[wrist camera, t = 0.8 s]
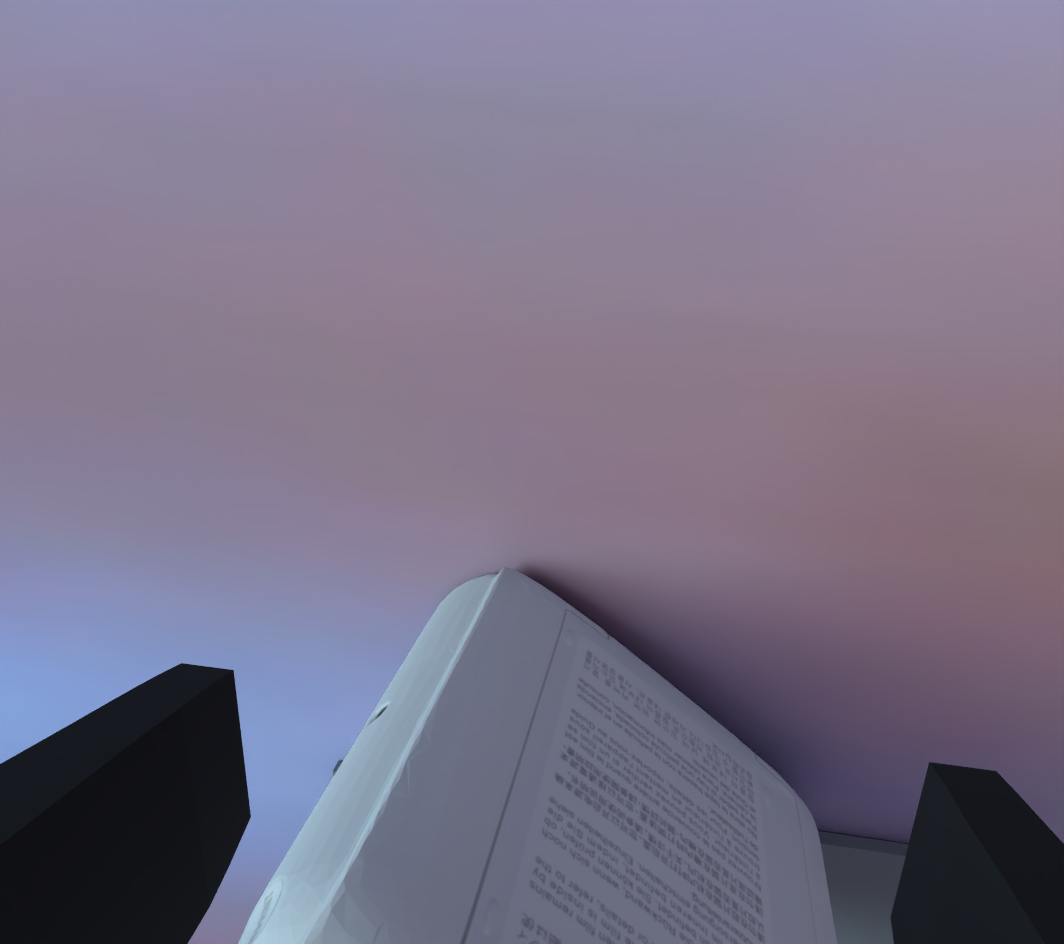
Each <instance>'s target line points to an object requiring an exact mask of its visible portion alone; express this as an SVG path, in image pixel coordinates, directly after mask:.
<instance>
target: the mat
mask: <svg viewBox="0 0 1064 944" xmlns="http://www.w3.org/2000/svg"><path fill="white" fill-rule="evenodd" d="M342 762H343V761H338V763H337V765H336V767H335V768H334V770H333V776H334V775H335V773H336V772H337V770H338V768H339V767H340V765H341V763H342ZM818 834H819V838H820V844H821V849H822V854H823V861H824V868H825V873H826V880H827V886H828V891H829V898H830V904H831V910H832V916H833V923H834V927H835V934H836V940H837V944H894V941H893V933H892V926H891V918H890V917H891V913H892V909H893V905H894V901H895V897H896V893H897V889H898V885H899V881H900V877H901V873H902V869H903V865H904V861H905V857H906V853H907V849H908V845H909V844H903V843H897V842H890V841H883V840H876V839H869V838H863V837H856V836H849V835H842V834H835V833H829V832H822V831H818Z"/></svg>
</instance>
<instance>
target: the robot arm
mask: <svg viewBox="0 0 1064 944" xmlns="http://www.w3.org/2000/svg"><path fill="white" fill-rule="evenodd" d="M250 817H251V815H250V806H249V798H248V789H247V781H246V772H245V764H244V755H243V747H242V739H241V730H240V722H239V713H238V705H237V696H236V688H235V679H234V671H233V670H228V669H220V668H213V667H205V666H198V665H190V664H183V663H181V664H179V665H177V666H175V667H173V668H171V669H169V670H167V671H165V672H163V673H161V674H159V675H157V676H155V677H154V678H152V679H150V680H148V681H146V682H144V683H143V684H141V685H139V686H137V687H135V688H133V689H132V690H130V691H128V692H126V693H125V694H123V695H121V696H119V697H117V698H116V699H114V700H112V701H110V702H109V703H107V704H105V705H103V706H102V707H100V708H98V709H96V710H95V711H93V712H91V713H89V714H88V715H86V716H84V717H83V718H81V719H79V720H77V721H76V722H74V723H72V724H70V725H69V726H67V727H65V728H63V729H62V730H60V731H58V732H56V733H54V734H53V735H51V736H49V737H47V738H46V739H44V740H42V741H40V742H39V743H37V744H35V745H33V746H31V747H30V748H28V749H26V750H24V751H23V752H21V753H19V754H17V755H16V756H14V757H12V758H10V759H8V760H7V761H5V762H3V763H1V764H0V944H187V943H188V942H189V940H190V938H191V937H192V935H193V934H194V932H195V930H196V929H197V927H198V925H199V924H200V922H201V920H202V918H203V917H204V915H205V913H206V912H207V910H208V908H209V907H210V905H211V903H212V901H213V898H214V896H215V894H216V892H217V890H218V888H219V886H220V884H221V882H222V880H223V878H224V875H225V873H226V871H227V869H228V867H229V865H230V863H231V860H232V858H233V856H234V854H235V851H236V849H237V847H238V845H239V842H240V840H241V838H242V836H243V833H244V831H245V829H246V826H247V824H248V822H249V820H250ZM890 918H891V926H892V933H893V941H894V944H1064V844H1063V843H1062V842H1061V841H1060V840H1059V838H1058V837H1057V836H1056V835H1055V834H1054V833H1053V832H1052V831H1051V830H1050V829H1049V828H1048V826H1047V825H1046V824H1045V823H1044V822H1043V821H1042V820H1041V819H1040V818H1039V817H1038V815H1037V814H1036V813H1035V812H1034V811H1033V810H1032V809H1031V808H1030V807H1029V806H1028V804H1027V803H1026V802H1025V801H1024V800H1023V799H1022V798H1021V797H1020V796H1019V795H1018V794H1017V793H1016V791H1015V790H1014V789H1013V788H1012V787H1011V786H1010V785H1009V784H1008V783H1007V782H1006V781H1005V780H1004V779H1003V778H1002V777H1001V776H1000V775H999V774H998V773H997V772H996V771H991V770H984V769H976V768H968V767H961V766H953V765H946V764H938V763H931V762H929V765H928V769H927V773H926V777H925V781H924V785H923V789H922V793H921V797H920V801H919V805H918V809H917V813H916V817H915V821H914V825H913V829H912V833H911V837H910V841H909V845H908V849H907V853H906V857H905V861H904V865H903V869H902V873H901V877H900V881H899V885H898V889H897V893H896V897H895V901H894V905H893V909H892V913H891V917H890Z"/></svg>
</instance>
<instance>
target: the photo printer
mask: <svg viewBox="0 0 1064 944" xmlns="http://www.w3.org/2000/svg"><path fill="white" fill-rule="evenodd" d="M238 944H837V940H836V934H835V927H834V923H833V916H832V910H831V904H830V898H829V891H828V886H827V880H826V873H825V868H824V861H823V854H822V849H821V844H820V838H819V834H818V830H817V827H816V824H815V821H814V818H813V816H812V814H811V812H810V811H809V809H808V808H807V806H806V804H805V803H804V802H803V801H802V799H801V798H800V797H799V796H798V795H797V793H796V792H795V791H794V790H793V789H792V788H791V787H790V786H789V785H788V783H787V782H786V781H785V780H784V779H783V778H782V777H781V776H780V775H779V774H778V773H777V772H776V771H775V770H774V769H773V768H771V767H770V766H769V765H768V764H767V763H766V762H765V761H763V760H762V759H761V758H760V757H759V756H758V755H756V754H755V753H754V752H753V751H752V750H750V749H749V748H748V747H747V746H746V745H744V744H743V743H742V742H741V741H740V740H739V739H738V738H737V737H735V736H734V735H733V734H732V733H731V732H729V731H728V730H727V729H726V728H724V727H723V726H722V725H721V724H719V723H718V722H717V721H716V720H714V719H713V718H712V717H711V716H710V715H709V714H707V713H706V712H705V711H704V710H703V709H701V708H700V707H699V706H698V705H696V704H695V703H694V702H693V701H691V700H690V699H689V698H688V697H686V696H685V695H684V694H683V693H681V692H680V691H679V690H678V689H676V688H675V687H674V686H673V685H672V684H670V683H669V682H668V681H667V680H665V679H664V678H663V677H662V676H660V675H659V674H658V673H657V672H656V671H654V670H653V669H652V668H651V667H649V666H648V665H647V664H645V663H644V662H643V661H642V660H640V659H639V658H638V657H636V656H635V655H634V654H633V653H632V652H630V651H629V650H628V649H627V648H625V647H624V646H623V645H622V644H620V643H619V642H618V641H617V640H615V639H614V638H613V637H611V636H610V635H608V634H607V633H606V632H605V631H604V630H603V629H602V628H601V627H599V626H598V625H597V624H595V623H594V622H592V621H591V620H590V619H588V618H587V617H586V616H584V615H583V614H582V613H580V612H579V611H577V610H576V609H575V608H573V607H572V606H571V605H569V604H568V603H567V602H565V601H564V600H562V599H561V598H560V597H558V596H557V595H555V594H554V593H553V592H551V591H550V590H548V589H547V588H545V587H544V586H542V585H541V584H539V583H537V582H536V581H534V580H532V579H531V578H529V577H527V576H526V575H524V574H522V573H520V572H517V571H515V570H513V569H510V568H503V569H501V571H500V572H499V573H498V574H489V575H484V576H481V577H477V578H474V579H472V580H470V581H467V582H465V583H464V584H462V585H460V586H459V587H457V588H456V589H454V590H453V591H452V592H451V593H450V594H448V595H447V596H446V598H445V599H444V600H443V601H442V602H441V603H440V604H439V606H438V607H437V609H436V611H435V612H434V614H433V615H432V617H431V618H430V620H429V622H428V623H427V625H426V626H425V628H424V629H423V631H422V633H421V634H420V636H419V638H418V639H417V641H416V642H415V644H414V646H413V647H412V649H411V651H410V652H409V654H408V655H407V657H406V659H405V660H404V662H403V664H402V665H401V667H400V668H399V670H398V672H397V673H396V675H395V677H394V678H393V680H392V681H391V683H390V685H389V686H388V688H387V690H386V691H385V693H384V694H383V696H382V698H381V699H380V701H379V703H378V704H377V706H376V708H375V709H374V711H373V713H372V714H371V716H370V718H369V719H368V721H367V723H366V725H365V726H364V728H363V730H362V731H361V733H360V734H359V736H358V738H357V739H356V741H355V742H354V744H353V746H352V747H351V749H350V750H349V752H348V754H347V755H346V757H345V759H344V760H343V762H342V763H341V765H340V767H339V768H338V770H337V772H336V773H335V775H334V777H333V778H332V780H331V782H330V783H329V785H328V786H327V788H326V790H325V791H324V793H323V795H322V796H321V798H320V800H319V801H318V803H317V805H316V806H315V808H314V810H313V811H312V813H311V815H310V816H309V818H308V819H307V821H306V823H305V824H304V826H303V828H302V829H301V831H300V833H299V834H298V836H297V838H296V839H295V841H294V843H293V844H292V846H291V848H290V849H289V851H288V853H287V854H286V856H285V858H284V859H283V861H282V863H281V864H280V866H279V867H278V869H277V871H276V872H275V874H274V876H273V877H272V879H271V881H270V882H269V884H268V886H267V887H266V889H265V891H264V893H263V894H262V896H261V898H260V900H259V902H258V903H257V905H256V907H255V909H254V910H253V912H252V914H251V916H250V918H249V921H248V923H247V925H246V927H245V930H244V932H243V934H242V937H241V939H240V941H239V943H238Z"/></svg>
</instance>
